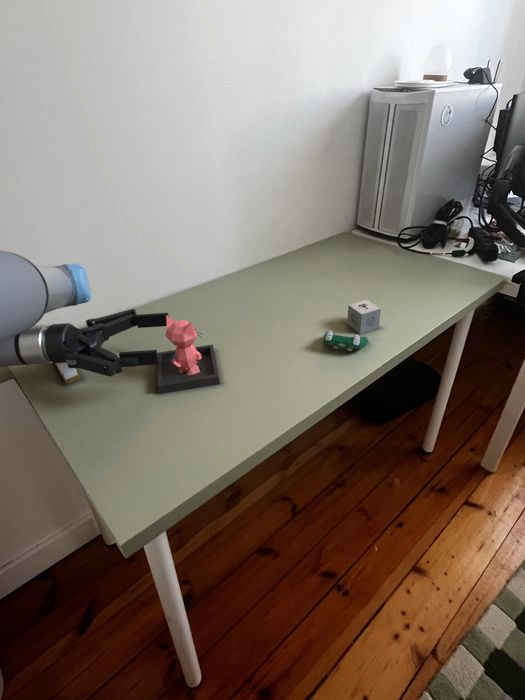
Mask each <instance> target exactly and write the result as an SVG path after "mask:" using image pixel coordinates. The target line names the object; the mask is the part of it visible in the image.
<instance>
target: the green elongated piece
mask: <svg viewBox="0 0 525 700" xmlns="http://www.w3.org/2000/svg"><path fill="white" fill-rule="evenodd" d="M323 342H324V344H326V345H329V346H330V345H332V346H333V349H335V350H339V348H341V347H345V348H346V350H347V351H348V352H352V351H353V350H362V349H364V348H365V347H366V346H367V345H368V344H369V338H368V337H367V336H360V335H359V334H355V335H354V336H352V337H351V336H345V335H338V334H335V333H334V332H333V331H332V330H328V331H326V332H324V335H323Z"/></svg>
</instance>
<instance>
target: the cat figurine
mask: <svg viewBox="0 0 525 700" xmlns="http://www.w3.org/2000/svg"><path fill="white" fill-rule="evenodd" d="M168 316H169V315H168ZM168 316H167V315H166V319H167V326H166V331H165V335H164V336H165V337H166V339H167V340H168V341H169V342H171V344H172V345H174V346H176V347H175V350H176V352H175V355H174V354H173V355H171V356H170V357H172V358H173V360H172V362H171V363H173V364H174V365H175V366H177V367H179V372H180V373H183V372H185V371H186V370H187V369H188V370H187V373H186V374H187V375H193V374H196V373H199V372H200V371H201V370H202V368H200V367H199V366H198V365H196V363H197V362H198V361H199V360H200V359H201V358H202V356H201V354H200V353H199V352H197V350H196V348H195V347H196V346H195V345H194V343H195V342H196V340H197V337H200V338H201V339H202V340H203V341H204V338H203V337H202V336H200V335H203V333H201V332H198V331H197V329H196V326H194V325H193V324H192V321H190V322H189V321H187V320H185V319H179V320H176V321H175V320H173V318H171V317H168ZM199 334H200V335H199ZM175 360H176V361H175Z"/></svg>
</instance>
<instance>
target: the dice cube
mask: <svg viewBox="0 0 525 700" xmlns="http://www.w3.org/2000/svg"><path fill="white" fill-rule="evenodd" d="M381 310H382V308H380V307H379V306H377V304H375V303H373V302H371V301H370V300H369V299H365V300H361V301H357V302H354V303H349V304H348V308H347V320H346V324H347V326H349V327H350V328H351V329H353V330H354V331H355V332H357V334H358V335H359V334H360V335H362V334H365V333H367V332H372V331H374V330H377V329H379V328H380V319H381V312H382V311H381Z"/></svg>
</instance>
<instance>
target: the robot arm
mask: <svg viewBox="0 0 525 700" xmlns="http://www.w3.org/2000/svg"><path fill="white" fill-rule="evenodd" d="M91 292H92V291H91V286H90V281H89V278H88V275H87V272H86V269H85V267H84V266H83V265H82V264H81V263H70V264H69V263H68V264H67V263H64V264H61V265H55V266H48V265H42V264H35V263H33V262H32V261H30V260H29V259H27V258H26V257H24V256H22V255H21V254H18V253H15V252H11V251H5V250H2V249H0V368H4V367H16V366H31V365H32V366H33V365H46V364H47V365H48V364H49V365H51V364H54V363H67V365H68V368H76V369H81V370H83V371H89V372H92V373H95V374H99V375H102V376H106V377H113V376H115V375H116V374H117V375H118V374H121V373H122V372H123V368H135V367H143V366H145V367H146V366H158V365H159V358H158V349H147V350H146V349H145V350H132V351H131V350H130V351H119V353H118V355H117V354H115V353H114V352H112V351H110V350H108V349H106V348H104V347H102V345H103V344H104V343H105V342H107V341H108V340H109V339H110V338H111V337H112V336H116V335H117V334H118V335H119V334H120V333H122V332H125V331H127V330H129V329H130V330H131V329H132V328H134V327H137V329H144V328H145V329H147V328H161V327H167V319H166V315H167V316H168V317H169V316H170V315H169V313H168V312H156V313H141V314H139V313H138V314H137V310H136V309H135V308H130V309H127V310H122V311H120V312H116V313H112V314H108V315H104V316H101V317H97V318H88V319H86V320H85V324H86V326H85V327H82V328H81V327H80V328H78V327H76V326H75V325H74V324H73V323H69V322H65V323H64V322H63V323H52V324H47V323H45V324H38V323H39V322H40V321H41V319H42V318H44V316H45V315H46V314H48V313H51V312H53V311H55V310H58V309H62V308H67V307H68V308H69V307H75V306H78V305H82V304H86V303H89V302H90V301H91V299H92V293H91ZM53 362H54V363H53Z"/></svg>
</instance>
